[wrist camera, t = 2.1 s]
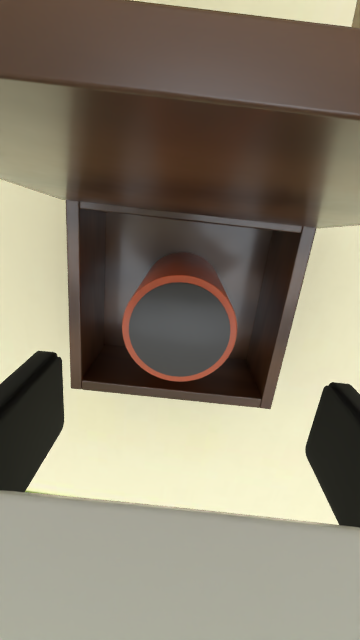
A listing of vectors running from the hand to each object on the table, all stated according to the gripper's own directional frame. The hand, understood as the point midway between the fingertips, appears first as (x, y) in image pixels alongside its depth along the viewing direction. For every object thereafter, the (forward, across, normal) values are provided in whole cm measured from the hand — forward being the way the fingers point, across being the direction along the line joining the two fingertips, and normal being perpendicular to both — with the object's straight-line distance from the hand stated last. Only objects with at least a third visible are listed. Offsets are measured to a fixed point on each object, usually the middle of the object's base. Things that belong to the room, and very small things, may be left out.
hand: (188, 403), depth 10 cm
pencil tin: (+15, +1, 0) cm, 15 cm away
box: (+16, +1, 0) cm, 16 cm away
